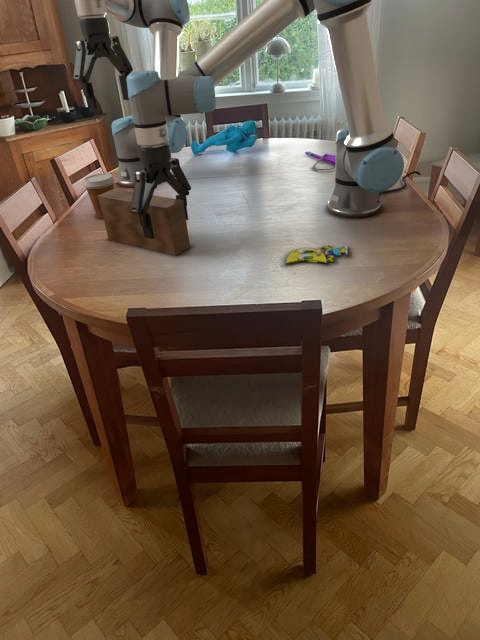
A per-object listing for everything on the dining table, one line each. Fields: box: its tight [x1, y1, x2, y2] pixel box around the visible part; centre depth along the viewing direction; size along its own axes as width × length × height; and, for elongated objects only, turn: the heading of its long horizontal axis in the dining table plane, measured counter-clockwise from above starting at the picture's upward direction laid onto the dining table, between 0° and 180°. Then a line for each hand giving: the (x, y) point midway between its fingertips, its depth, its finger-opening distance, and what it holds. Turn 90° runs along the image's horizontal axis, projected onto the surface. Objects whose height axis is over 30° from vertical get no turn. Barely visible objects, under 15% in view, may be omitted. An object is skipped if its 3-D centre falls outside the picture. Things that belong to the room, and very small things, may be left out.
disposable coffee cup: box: [83, 172, 115, 219], centre depth 152 cm, size 10×10×12 cm
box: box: [98, 188, 191, 257], centre depth 129 cm, size 25×6×13 cm, turn 56°
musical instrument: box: [304, 151, 336, 171], centre depth 185 cm, size 24×2×20 cm
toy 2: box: [285, 244, 349, 266], centre depth 118 cm, size 10×1×15 cm
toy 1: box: [189, 120, 258, 155], centre depth 209 cm, size 17×11×30 cm
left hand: (110, 104), depth 139 cm, fingers open, 13 cm apart
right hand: (167, 228), depth 126 cm, fingers open, 13 cm apart
